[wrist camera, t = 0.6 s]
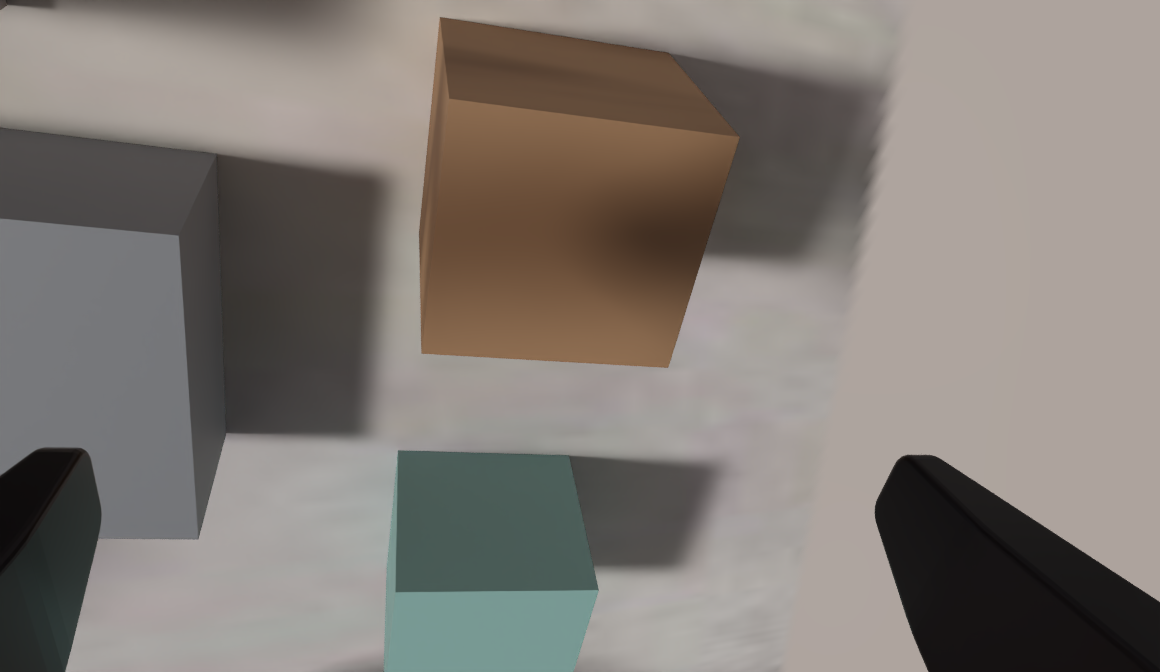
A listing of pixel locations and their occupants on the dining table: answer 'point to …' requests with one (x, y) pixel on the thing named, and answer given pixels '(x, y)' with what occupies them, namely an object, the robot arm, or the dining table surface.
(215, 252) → the slate base block
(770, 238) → the dining table surface
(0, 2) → the framed brown square
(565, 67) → the walnut cube
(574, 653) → the teal cube
